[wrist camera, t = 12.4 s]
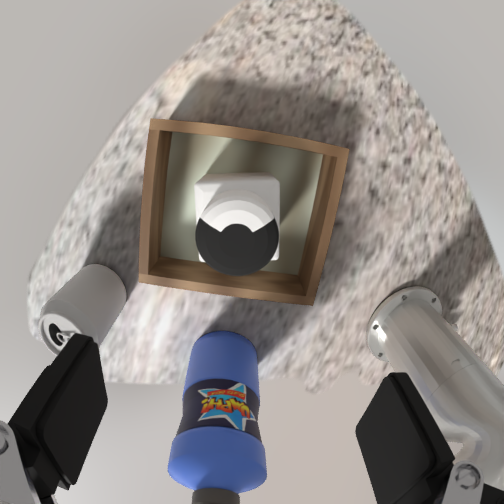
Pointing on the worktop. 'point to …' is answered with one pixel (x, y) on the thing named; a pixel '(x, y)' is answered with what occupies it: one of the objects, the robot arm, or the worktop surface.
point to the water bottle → (220, 422)
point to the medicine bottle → (237, 221)
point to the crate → (237, 161)
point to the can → (82, 307)
